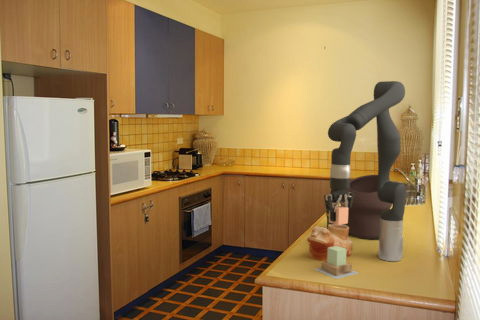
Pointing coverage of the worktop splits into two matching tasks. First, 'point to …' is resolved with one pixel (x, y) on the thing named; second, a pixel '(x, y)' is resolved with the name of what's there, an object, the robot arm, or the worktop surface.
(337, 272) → the walnut base
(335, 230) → the ceramic vessel
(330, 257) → the sage block
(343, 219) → the terracotta block
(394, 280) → the worktop surface
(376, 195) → the vase
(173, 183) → the worktop surface
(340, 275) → the board
